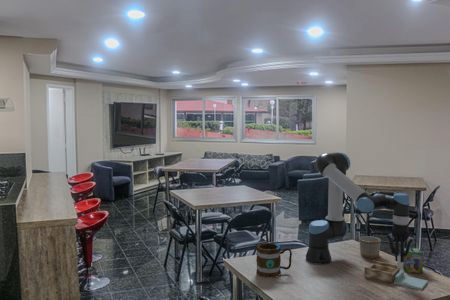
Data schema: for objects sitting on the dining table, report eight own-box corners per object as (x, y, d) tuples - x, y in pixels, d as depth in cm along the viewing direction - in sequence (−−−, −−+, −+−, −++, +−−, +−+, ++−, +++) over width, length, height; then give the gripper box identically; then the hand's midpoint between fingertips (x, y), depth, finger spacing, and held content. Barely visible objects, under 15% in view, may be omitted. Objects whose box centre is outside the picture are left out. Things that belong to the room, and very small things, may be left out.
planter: (357, 251, 249) (357, 235, 248) (377, 252, 247) (377, 236, 246) (361, 258, 236) (361, 241, 236) (382, 259, 235) (383, 242, 234)
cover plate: (394, 284, 198) (394, 276, 198) (400, 277, 207) (401, 269, 207) (421, 291, 190) (421, 282, 190) (427, 283, 199) (427, 275, 199)
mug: (257, 277, 207) (256, 250, 206) (255, 268, 221) (255, 242, 220) (293, 277, 207) (293, 250, 206) (290, 268, 220) (290, 242, 219)
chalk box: (422, 273, 211) (423, 247, 210) (404, 272, 214) (404, 245, 213) (419, 267, 220) (419, 242, 219) (401, 266, 223) (402, 241, 222)
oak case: (364, 277, 207) (364, 267, 207) (373, 269, 218) (373, 260, 217) (391, 283, 198) (391, 273, 198) (399, 275, 209) (399, 265, 208)
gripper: (385, 222, 202) (384, 266, 203) (412, 227, 193) (410, 272, 195) (389, 219, 207) (388, 262, 209) (416, 224, 199) (414, 268, 201)
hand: (399, 267), depth 202 cm, fingers closed
